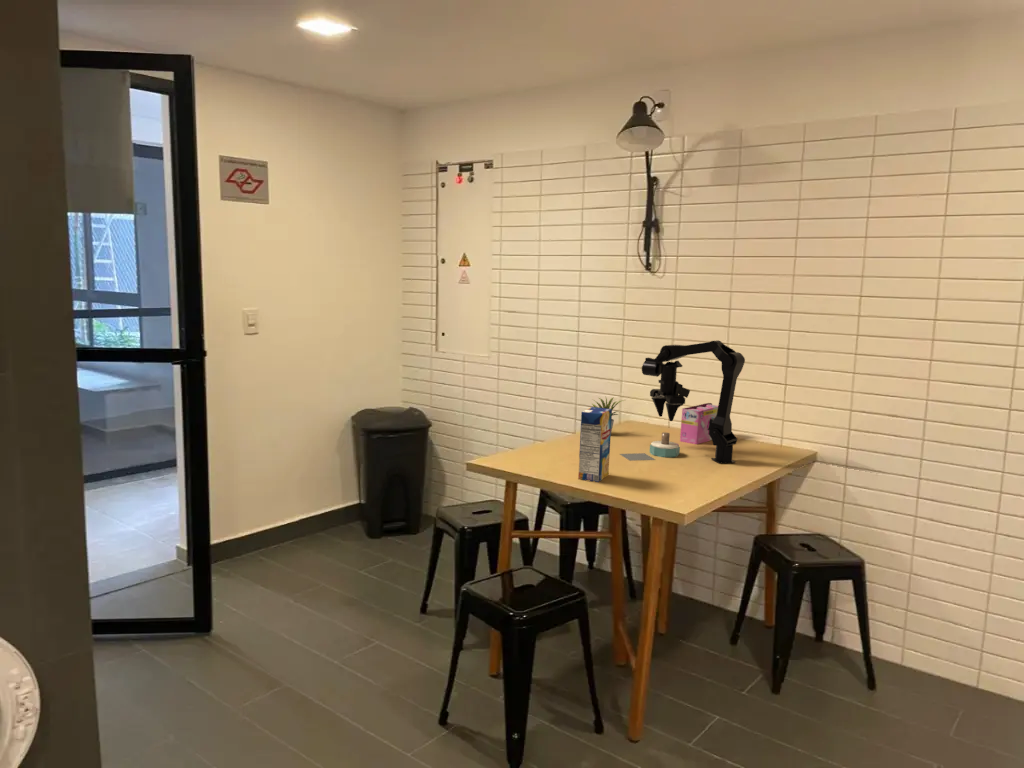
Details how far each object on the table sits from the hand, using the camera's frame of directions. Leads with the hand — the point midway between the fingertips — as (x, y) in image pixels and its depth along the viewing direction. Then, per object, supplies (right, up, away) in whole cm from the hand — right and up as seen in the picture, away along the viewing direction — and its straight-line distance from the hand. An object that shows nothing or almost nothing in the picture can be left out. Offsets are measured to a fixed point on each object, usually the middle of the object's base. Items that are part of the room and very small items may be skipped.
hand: (665, 418), depth 289 cm
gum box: (+20, -10, +24) cm, 33 cm away
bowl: (-2, -13, -8) cm, 15 cm away
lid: (-2, -10, -8) cm, 13 cm away
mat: (-13, -14, -13) cm, 23 cm away
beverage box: (-32, -17, -42) cm, 55 cm away
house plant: (-19, -8, +27) cm, 34 cm away
